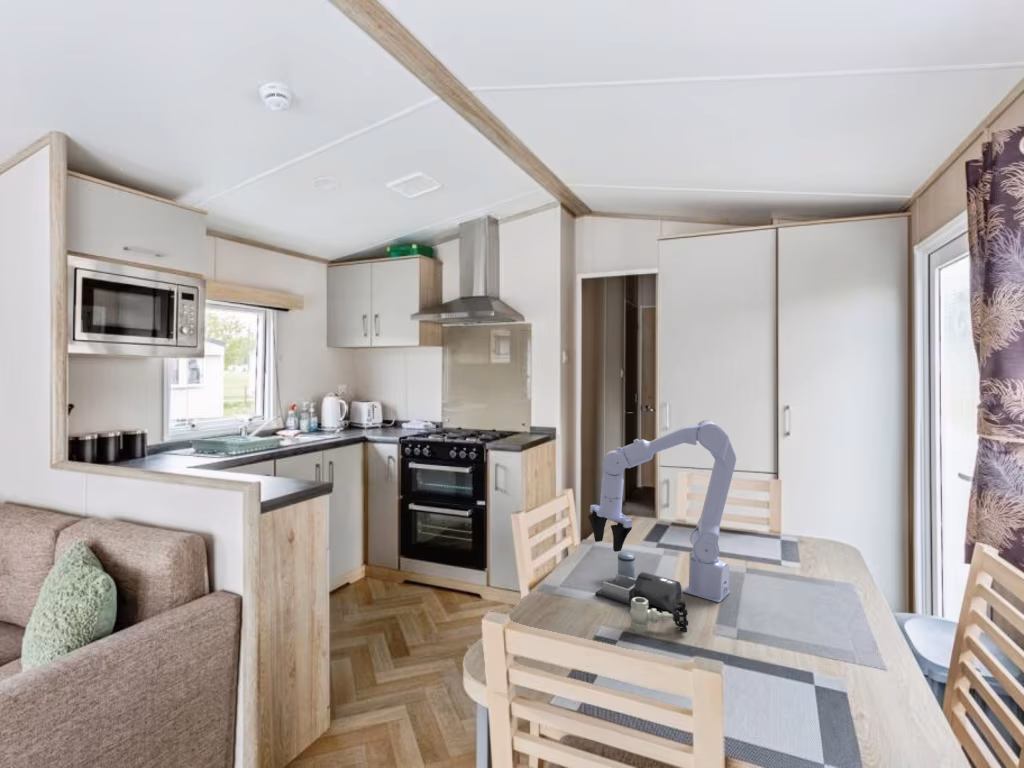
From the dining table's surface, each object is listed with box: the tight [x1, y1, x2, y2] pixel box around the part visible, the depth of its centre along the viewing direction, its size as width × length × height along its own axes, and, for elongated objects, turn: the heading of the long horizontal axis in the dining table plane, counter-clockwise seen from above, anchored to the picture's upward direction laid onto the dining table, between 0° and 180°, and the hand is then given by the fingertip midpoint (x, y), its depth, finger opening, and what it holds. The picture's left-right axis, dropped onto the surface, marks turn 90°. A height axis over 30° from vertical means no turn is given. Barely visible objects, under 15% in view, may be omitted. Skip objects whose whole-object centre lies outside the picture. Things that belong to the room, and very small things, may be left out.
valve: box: [629, 597, 689, 634], centre depth 122 cm, size 7×7×12 cm
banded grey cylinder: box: [617, 551, 636, 579], centre depth 149 cm, size 5×5×7 cm
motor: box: [595, 571, 683, 613], centre depth 137 cm, size 19×10×7 cm, turn 50°
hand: (607, 545), depth 147 cm, fingers open, 7 cm apart
